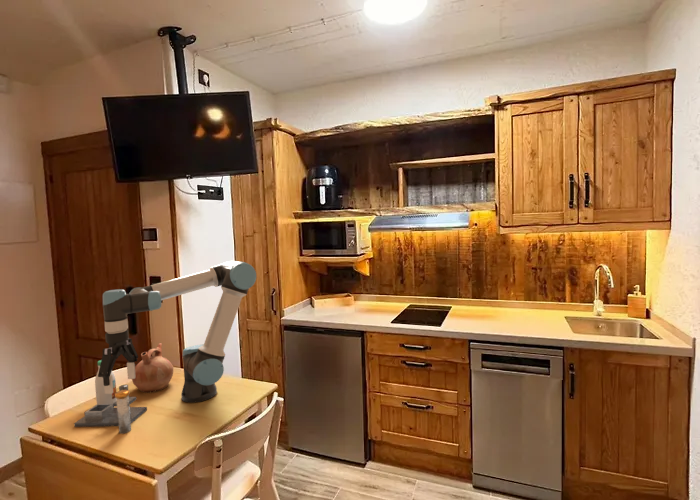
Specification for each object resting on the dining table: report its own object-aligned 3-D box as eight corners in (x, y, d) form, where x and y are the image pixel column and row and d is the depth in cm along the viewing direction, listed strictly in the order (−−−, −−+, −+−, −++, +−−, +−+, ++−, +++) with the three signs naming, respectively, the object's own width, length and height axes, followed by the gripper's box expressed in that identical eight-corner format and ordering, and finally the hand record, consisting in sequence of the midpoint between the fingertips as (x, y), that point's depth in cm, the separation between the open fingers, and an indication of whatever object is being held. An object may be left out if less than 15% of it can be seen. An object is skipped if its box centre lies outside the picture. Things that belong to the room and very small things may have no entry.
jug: (149, 379, 200) (146, 341, 199) (182, 380, 197) (179, 341, 196) (124, 395, 182) (120, 353, 180) (159, 396, 179) (156, 354, 178)
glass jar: (135, 427, 152) (131, 389, 151) (127, 434, 147) (124, 395, 146) (123, 427, 152) (119, 389, 151) (115, 434, 147) (111, 395, 146)
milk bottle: (107, 408, 169) (103, 363, 167) (92, 407, 170) (88, 363, 169) (121, 400, 176) (117, 357, 175) (106, 399, 178) (103, 357, 176)
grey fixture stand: (146, 410, 166) (144, 379, 165) (128, 426, 153) (125, 392, 152) (97, 411, 167) (94, 380, 166) (74, 427, 154) (71, 393, 153)
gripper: (127, 322, 159) (131, 373, 161) (83, 341, 134) (87, 400, 136) (145, 322, 159) (148, 372, 160) (104, 340, 134) (108, 400, 135)
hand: (120, 385), depth 148 cm, fingers open, 13 cm apart
